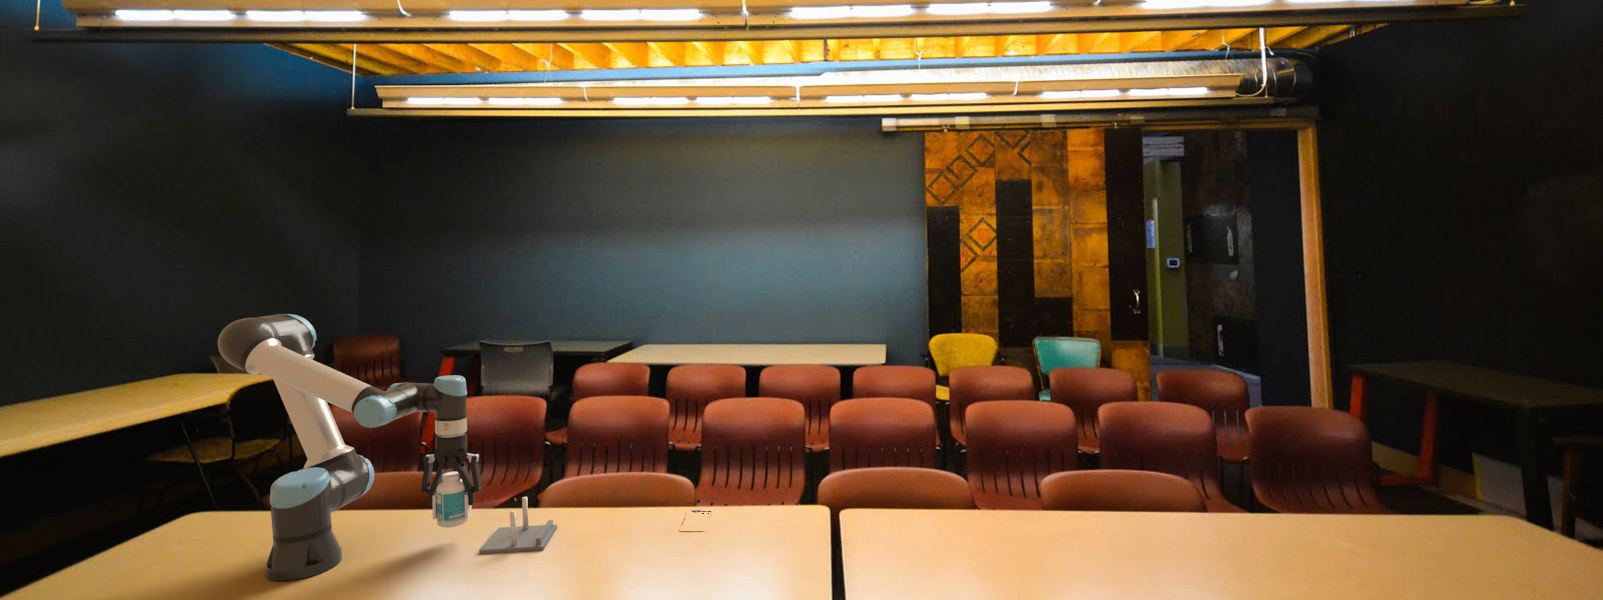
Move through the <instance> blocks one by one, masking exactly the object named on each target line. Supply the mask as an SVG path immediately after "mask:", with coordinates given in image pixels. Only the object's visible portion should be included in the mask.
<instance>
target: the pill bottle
mask: <svg viewBox="0 0 1603 600" xmlns="http://www.w3.org/2000/svg"><path fill="white" fill-rule="evenodd" d="M441 481H442V482H441ZM441 481H440V484H439V485H438V486H437V488H436V501H437V519H436V524H437V526H439V527H441V528H454V527H458V526H461V525H464V524H465V523H466V522H468V521H469V520H468V519H469V518H468V519H465V496H464V495H465V494H466V493H467V491H466V488H465V486H464V484H463V482H462V479H461V477H460V475H459V473H458V472H457V471H447V472H444V474H443V475H442V479H441Z"/></svg>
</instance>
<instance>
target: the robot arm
mask: <svg viewBox="0 0 1603 600" xmlns="http://www.w3.org/2000/svg"><path fill="white" fill-rule="evenodd" d="M316 341H317V333H316V330H315V328H314V326H313V325H312V324H311V323H310V321H308V320H307V319H306V318H304V317H302V316H300V315H297V314H291V313H287V314H286V313H277V314H271V315H264V316H257V317H256V316H255V317H246V318H241V319H237V320H234V321H233V322H231V323H229V324H228V325H226V326H225V327H223V329H222V330H221V332H220V334H219V336H218V339H217V347H218V349H217V350H218V352H219V354H220V356H222V358H223V359H224V360H225V361H226V362H227V363H228V364H230V365H232V366H233V367H235V368H237V369H240V371H241V370H242V371H243V372H246V373H248V374H251V375H260V374H263V375H264V376H266V377H269V378H271V379H272V380H273V381H274V385H275V386H276V388H277V392H278V393H279V395H280V399H281V400H282V402H283V405H284V407H285V410H286V413H287V414H288V417H289V419H290V422H291V423H292V426H293V428H294V430H295V433H296V435H297V437H298V441H300V445H301V447H302V449H303V451H304V453H305V457H306V458H307V460H306V462H305V464H304V466H303V468H302V469H298V470H297V471H291V472H288V473H285V474H283V475H282V476H280V477H279V478H277V479H276V480H275V481H274V482H273V483H272V485H271V486H270V491H269V492H270V496H269V504H270V516H271V517H270V518H271V527H272V529H271V530H272V546H271V549H270V552H269V556H268V559H267V561H266V565H265V577H266V578H267V579H268V580H270V581H274V582H275V581H276V582H287V581H296V580H300V579H305V578H309V577H313V576H317V575H319V574H322V573H324V572H326V571H329V570H330V569H333V568H334V567H335V566H337V565H338V564H339V563H341V561H342V559H343V551H342V548H341V546H340V544H339V542H338V540H337V537H336V535H335V534H334V532H333V527H332V513H334V512H335V511H338V510H339V509H341V508H343V507H345V506H346V505H348V504H350V503H353V502H356V501H357V500H358V499H359V498H361V497H362V496H363V495H365V494H366V493H367V492H368V491H369V490H370V488H371V487H372V485H373V483H374V480H375V468H374V466H373V464H372V463H371V461H370V460H369V459H368V458H366V457H364V456H363V455H360V454H357V451H356V450H355V448H354V447H353V446H350V445H347V444H345V442H344V439H343V437H342V434H341V432H340V430H339V427H338V425H337V423H336V420H335V418H334V416H333V413H332V411H331V408H330V405H329V404H331V405H334V406H336V407H338V408H341V409H343V410H345V411H348V412H350V413H352V414H353V416H354V418H355V420H356V421H357V422H358V424H359V425H360V426H362V427H364V428H370V429H371V428H378V427H381V426H385V425H387V424H389V423H391V422H394V421H395V420H396V421H397V419H400V418H403V417H406V416H408V415H410V414H413V413H418V412H419V413H433V412H434V420H435V421H434V430H435V431H434V433H435V434H436V436H435V438H434V440H435V444H434V445H435V453H434V454H430V453H429V454H428V453H427V454H426V455H425V456H423V457H422V461H423V464H424V465H423V473H422V478H421V479H422V481H421V486H420V492H421V493H422V494H424V493H425V494H427V495H428V506H429V507H432V520H437V501H436V488H437V486H438V485H439V484H440V483H441V481H442V475H443V474H445V473H446V472H445V471H446V470H448V469H453V470H455V472H458V473H459V475H460V477H461V480H462V482H463V484H464V486H465V488H466V491H467V493H466V494H465V495H464V496H465V519H469V518H470V517H471V516H472V513H473V512H472V511H473V509H472V508H473V507H472V506H473V505H474V504H475V503H476V493H478V492H480V491H481V489H482V488H483V482H482V474H481V470H480V464H479V463H480V462H479V461H480V456H481V455H480V453H475V454H474V453H470V452H469V451H468V434H467V433H466V432H467V431H468V417H467V403H468V402H467V395H468V391H467V381H466V378H465V377H464V376H462V375H457V374H455V375H454V374H452V375H442V376H438V377H436V378H434V381H433V383H423V382H422V383H421V382H419V383H418V382H417V383H416V382H398V383H396V382H395V383H393V384H391V385H390V386H389V388H387V390H386V391H385V390H382V389H381V388H377V387H374V386H373V385H371V384H368V383H365V382H363V380H359V379H357V378H354V377H352V376H350V375H347V374H345V373H343V372H341V371H339V370H337V369H335V368H332V367H330V366H328V365H325V364H323V363H321V362H318V361H316V360H314V358H315V354H314V350H313V348H314V347H315V345H316V343H315V342H316ZM328 403H329V404H328ZM467 459H468V462H469V463H470V471H471V475H470V473H469V471H468V469H467V465H466V464H467V463H466V462H465V461H467ZM435 461H436V462H437V463H438V467H437V469H436V473H435V475H434V477H433V480H432V476H433V468H434V462H435ZM431 481H432V482H431Z"/></svg>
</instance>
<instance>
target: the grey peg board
mask: <svg viewBox="0 0 1603 600" xmlns="http://www.w3.org/2000/svg"><path fill="white" fill-rule="evenodd" d="M528 504H529V503H528V496H523V497H521V506H522V507H521V509H522V511H521V513H522V526H517V513H516V512H517V511H516V510H510V512H509V522H510V523H509V524H510V526H501V527H498V528H496V530H495V531H494V532H493V533H492V535H491V536H490V537H489V538H488V539H487V541H486V542H485V543H484V544H483V545H482V546H481V548H480V549H479V554H497V553H498V554H499V553H514V552H515V553H516V552H532V551H544V550H545V548H546V547H547V545H548V543H549V542H550V540H551V539H552V538H553V535H555V534H554V532H556V531H557V529H558V524H554V520H553V519H549V520H547V522H546V523H545V524H544V525H543V524H542V525H529V508H528V507H529V506H528Z"/></svg>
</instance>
